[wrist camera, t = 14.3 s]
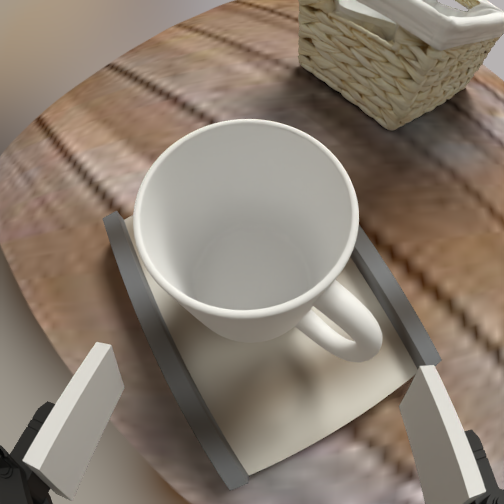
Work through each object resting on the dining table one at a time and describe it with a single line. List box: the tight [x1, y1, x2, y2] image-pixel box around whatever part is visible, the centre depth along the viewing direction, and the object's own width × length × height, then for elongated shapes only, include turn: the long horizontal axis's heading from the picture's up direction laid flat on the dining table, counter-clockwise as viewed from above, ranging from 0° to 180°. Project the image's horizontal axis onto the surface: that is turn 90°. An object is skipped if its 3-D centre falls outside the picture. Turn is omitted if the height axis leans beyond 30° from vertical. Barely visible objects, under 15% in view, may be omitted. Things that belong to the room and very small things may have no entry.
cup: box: [133, 119, 382, 362], centre depth 15 cm, size 8×12×10 cm
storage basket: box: [298, 0, 504, 130], centre depth 24 cm, size 24×16×15 cm
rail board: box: [103, 211, 442, 490], centre depth 20 cm, size 20×16×3 cm
